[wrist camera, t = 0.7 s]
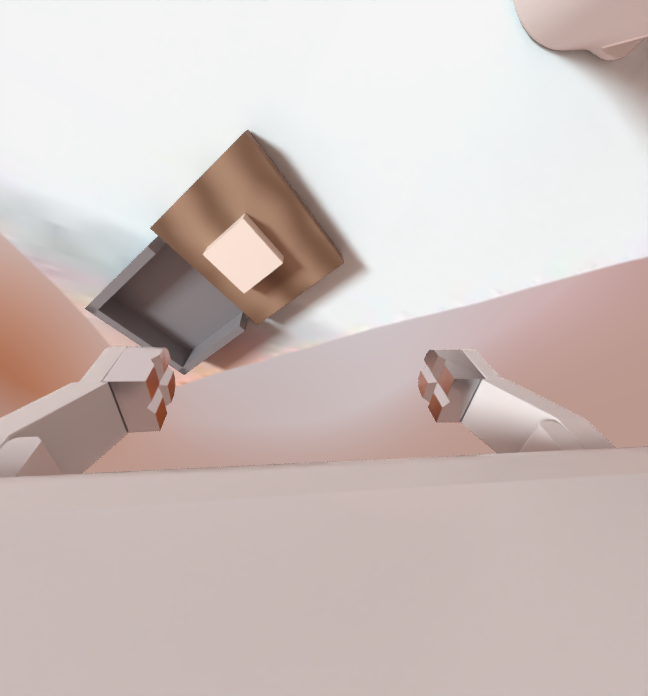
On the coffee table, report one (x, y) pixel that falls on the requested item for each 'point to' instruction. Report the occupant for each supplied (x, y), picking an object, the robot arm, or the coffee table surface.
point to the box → (169, 307)
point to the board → (266, 212)
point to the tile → (244, 254)
